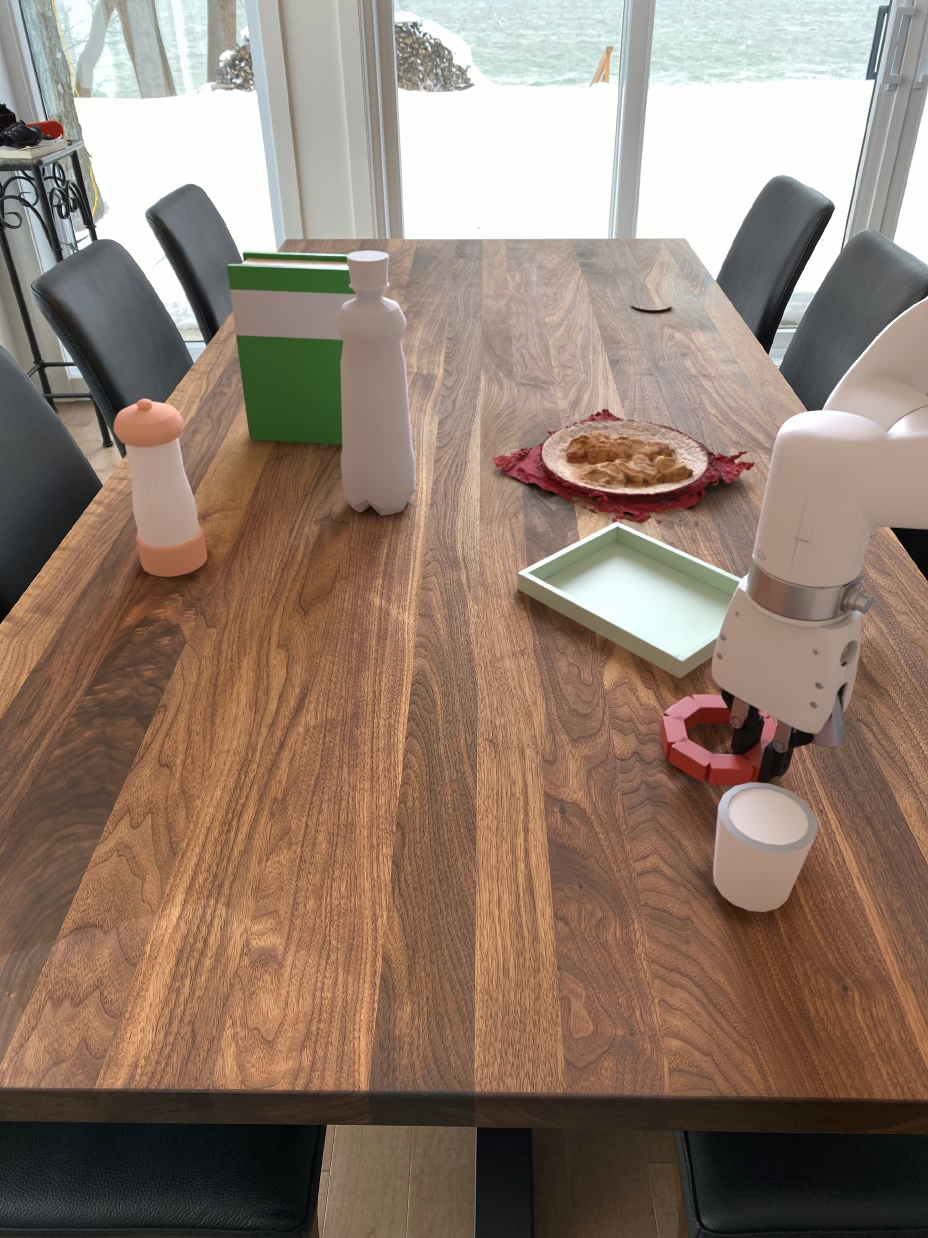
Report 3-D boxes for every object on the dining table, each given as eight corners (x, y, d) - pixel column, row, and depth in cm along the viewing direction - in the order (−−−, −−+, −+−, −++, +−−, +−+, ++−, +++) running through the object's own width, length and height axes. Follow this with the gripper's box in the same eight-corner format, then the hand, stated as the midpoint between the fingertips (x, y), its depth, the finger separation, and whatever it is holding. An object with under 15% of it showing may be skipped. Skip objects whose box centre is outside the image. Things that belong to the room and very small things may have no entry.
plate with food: (604, 420, 145) (605, 398, 143) (753, 473, 129) (757, 449, 127) (488, 470, 132) (488, 446, 130) (638, 535, 116) (640, 510, 114)
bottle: (425, 491, 125) (420, 248, 108) (402, 524, 118) (393, 269, 101) (358, 482, 127) (343, 242, 110) (332, 514, 120) (312, 263, 103)
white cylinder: (730, 833, 77) (745, 767, 73) (813, 876, 73) (834, 810, 69) (687, 886, 72) (701, 819, 69) (774, 935, 69) (793, 868, 65)
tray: (775, 615, 102) (779, 595, 101) (679, 682, 93) (682, 661, 91) (614, 540, 115) (616, 521, 114) (516, 592, 106) (517, 572, 104)
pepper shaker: (138, 550, 113) (104, 392, 102) (202, 539, 115) (175, 383, 104) (144, 582, 107) (109, 418, 96) (211, 570, 109) (184, 408, 98)
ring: (797, 748, 84) (802, 732, 83) (733, 802, 78) (737, 786, 77) (704, 696, 90) (707, 681, 89) (639, 744, 84) (641, 728, 83)
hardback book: (249, 439, 138) (226, 265, 125) (264, 419, 144) (244, 250, 131) (371, 446, 137) (362, 270, 123) (382, 425, 143) (373, 255, 129)
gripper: (929, 607, 69) (867, 796, 79) (737, 526, 78) (704, 704, 89) (877, 649, 64) (818, 843, 75) (681, 559, 74) (653, 742, 84)
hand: (756, 766), depth 82 cm, fingers closed on ring, 2 cm apart
